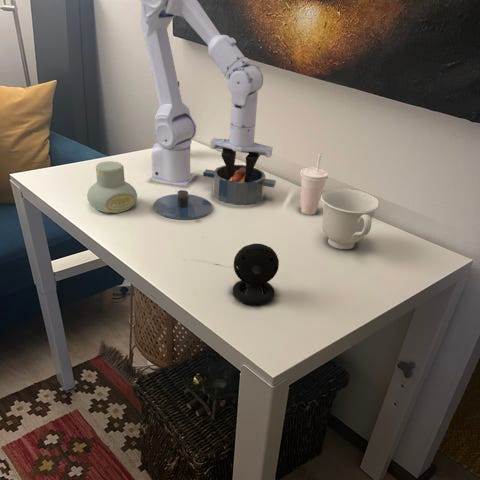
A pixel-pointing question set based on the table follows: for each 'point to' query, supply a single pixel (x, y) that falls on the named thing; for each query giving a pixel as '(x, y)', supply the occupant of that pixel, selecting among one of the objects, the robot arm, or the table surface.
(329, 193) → the teacup
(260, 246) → the webcam
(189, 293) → the table surface
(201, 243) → the table surface
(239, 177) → the hot dog
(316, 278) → the table surface
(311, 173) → the smoothie
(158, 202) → the pot lid
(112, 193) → the air freshener
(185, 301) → the table surface
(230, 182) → the pot
